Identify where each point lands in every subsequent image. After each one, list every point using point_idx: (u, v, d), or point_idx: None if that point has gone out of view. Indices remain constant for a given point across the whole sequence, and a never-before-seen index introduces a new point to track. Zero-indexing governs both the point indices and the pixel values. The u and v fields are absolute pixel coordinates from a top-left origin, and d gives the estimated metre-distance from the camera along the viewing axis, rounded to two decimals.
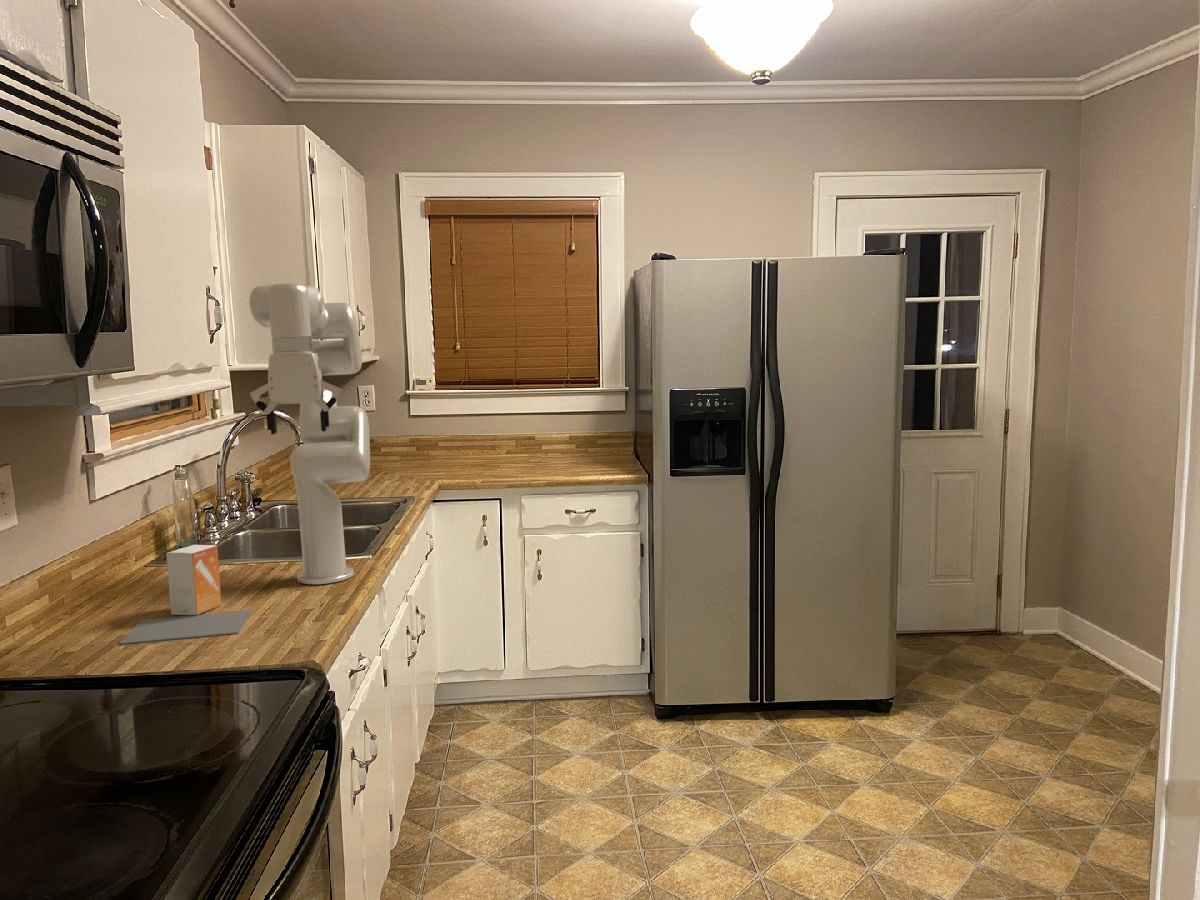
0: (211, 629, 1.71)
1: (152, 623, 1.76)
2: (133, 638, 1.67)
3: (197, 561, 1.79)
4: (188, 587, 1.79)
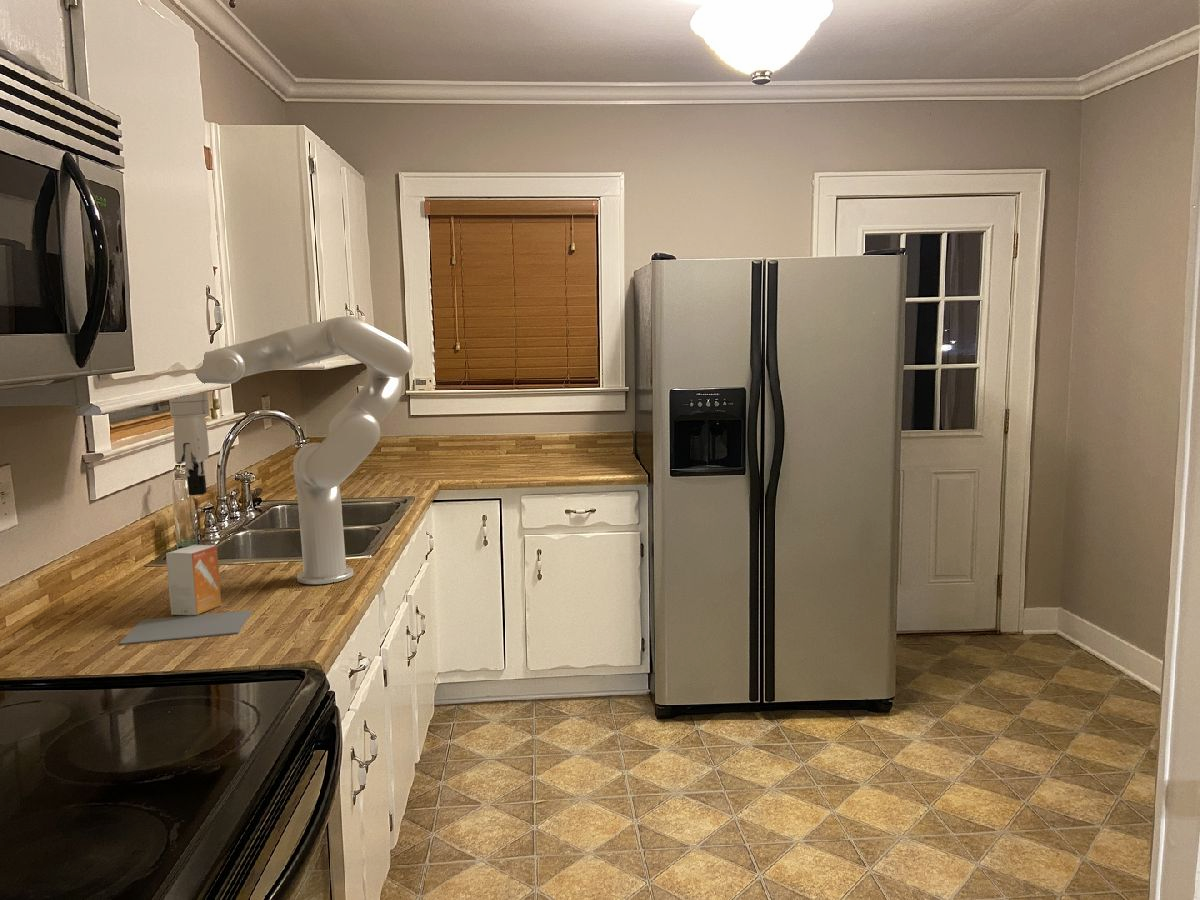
0: (211, 629, 1.71)
1: (152, 623, 1.76)
2: (133, 638, 1.67)
3: (196, 562, 1.79)
4: (188, 587, 1.79)
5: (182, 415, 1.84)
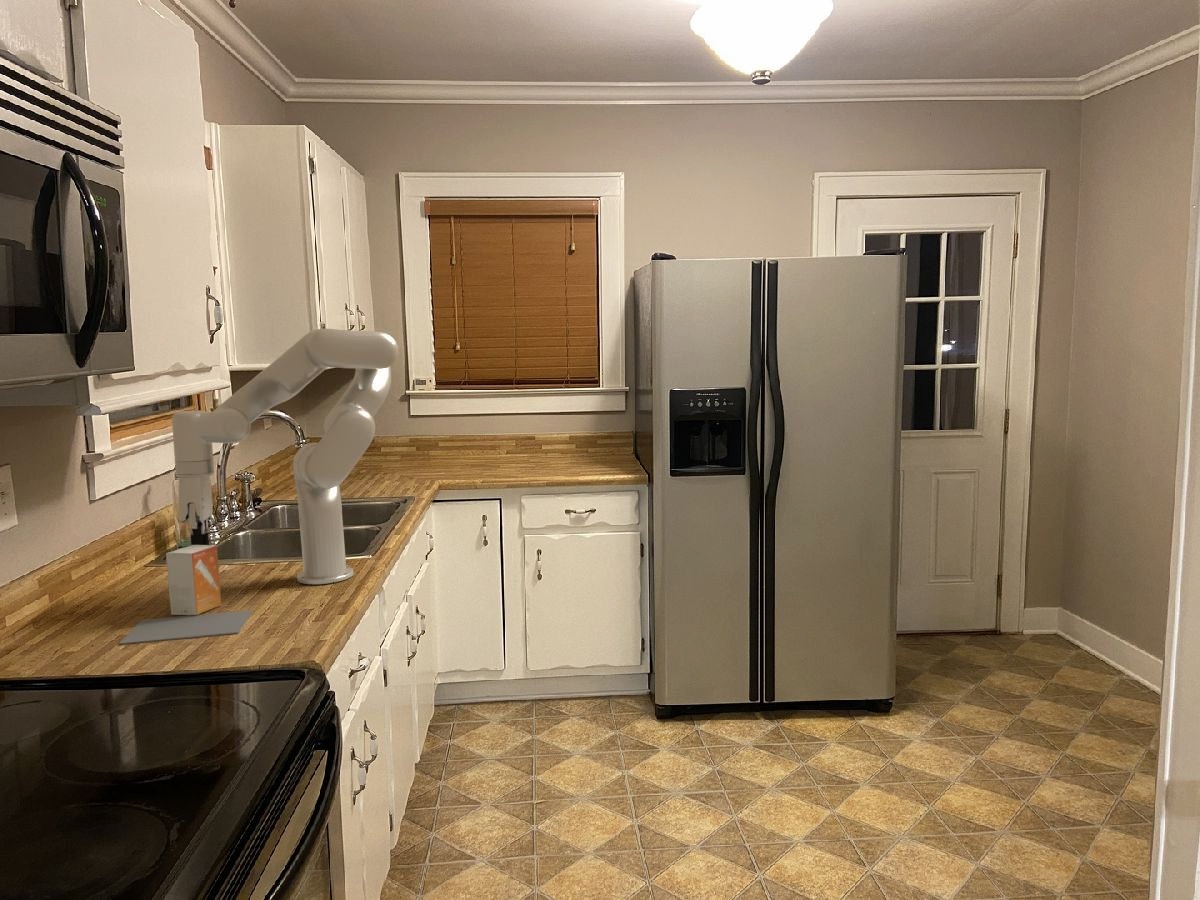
0: (211, 629, 1.71)
1: (152, 623, 1.76)
2: (133, 638, 1.67)
3: (196, 562, 1.79)
4: (188, 587, 1.79)
5: (187, 475, 1.86)
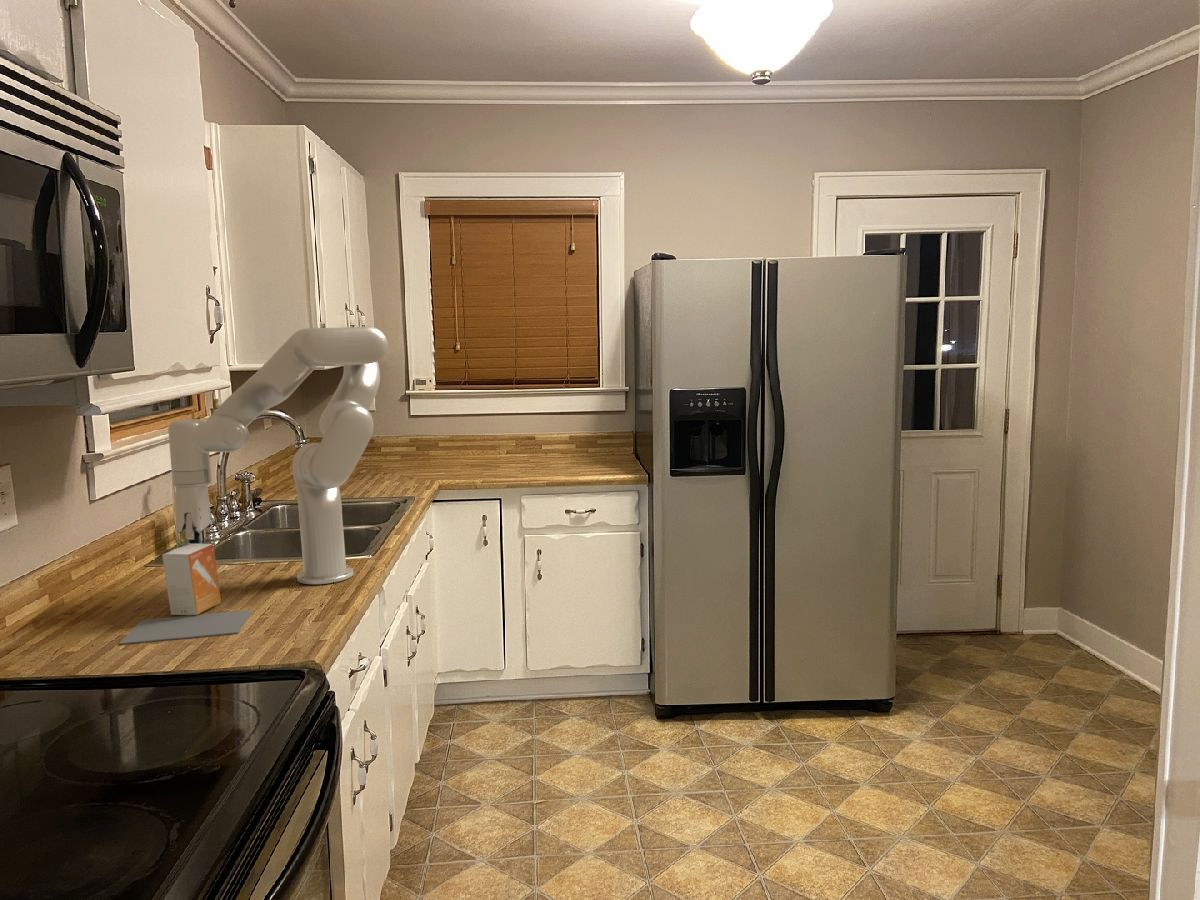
0: (211, 629, 1.71)
1: (152, 623, 1.76)
2: (133, 638, 1.67)
3: (193, 562, 1.79)
4: (186, 588, 1.79)
5: (184, 485, 1.84)
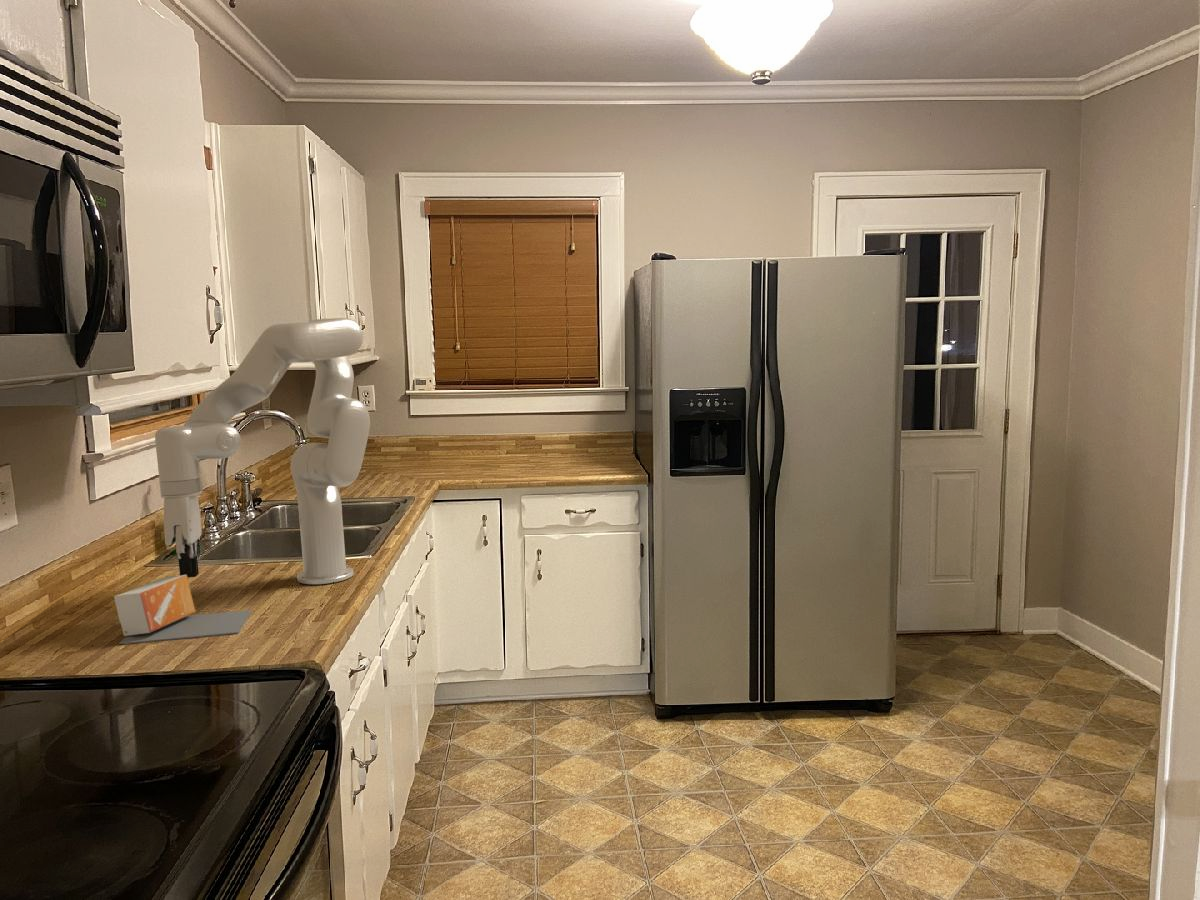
0: (211, 629, 1.71)
1: None
2: (133, 638, 1.67)
3: (156, 623, 1.68)
4: None
5: (172, 495, 1.74)
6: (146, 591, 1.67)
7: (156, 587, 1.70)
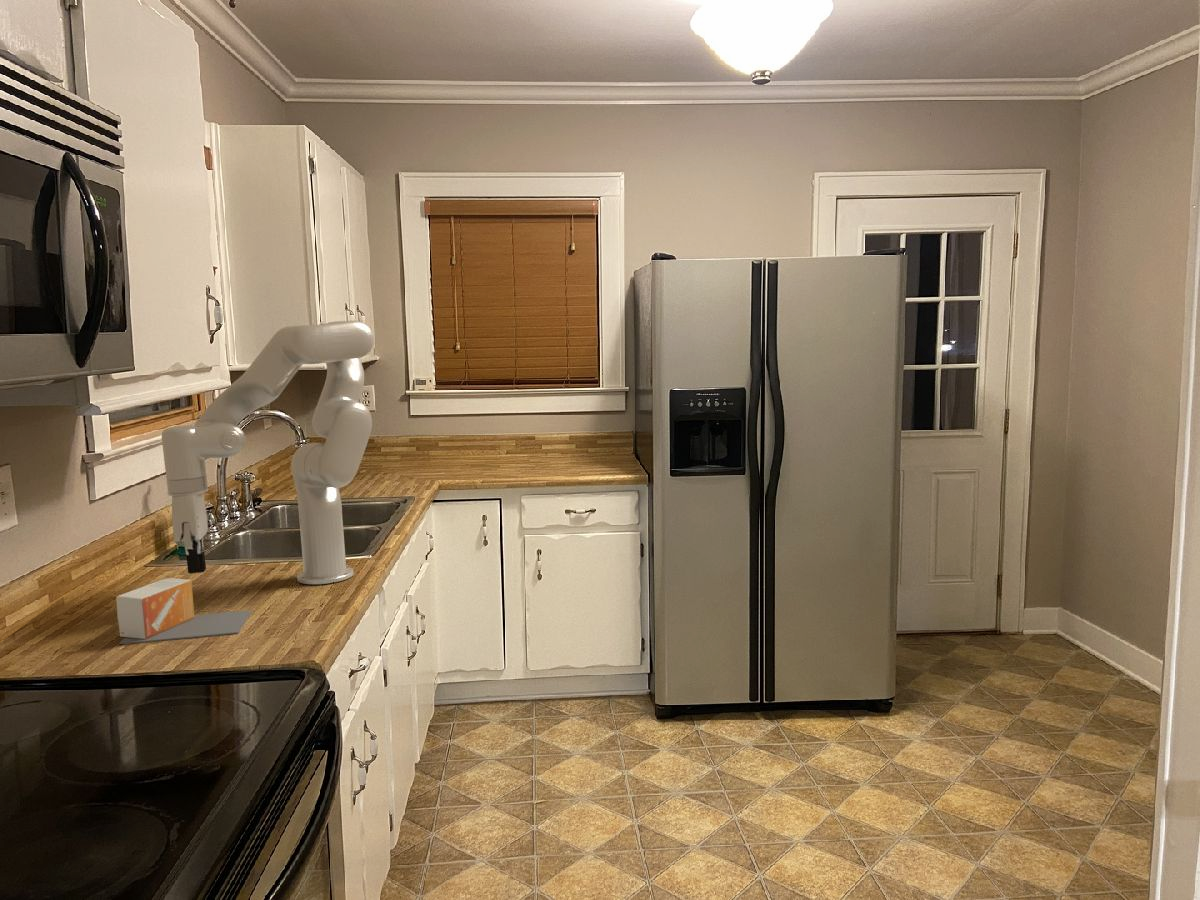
0: (211, 629, 1.71)
1: None
2: (133, 638, 1.67)
3: (153, 629, 1.68)
4: None
5: (180, 493, 1.79)
6: (148, 597, 1.66)
7: (159, 593, 1.69)
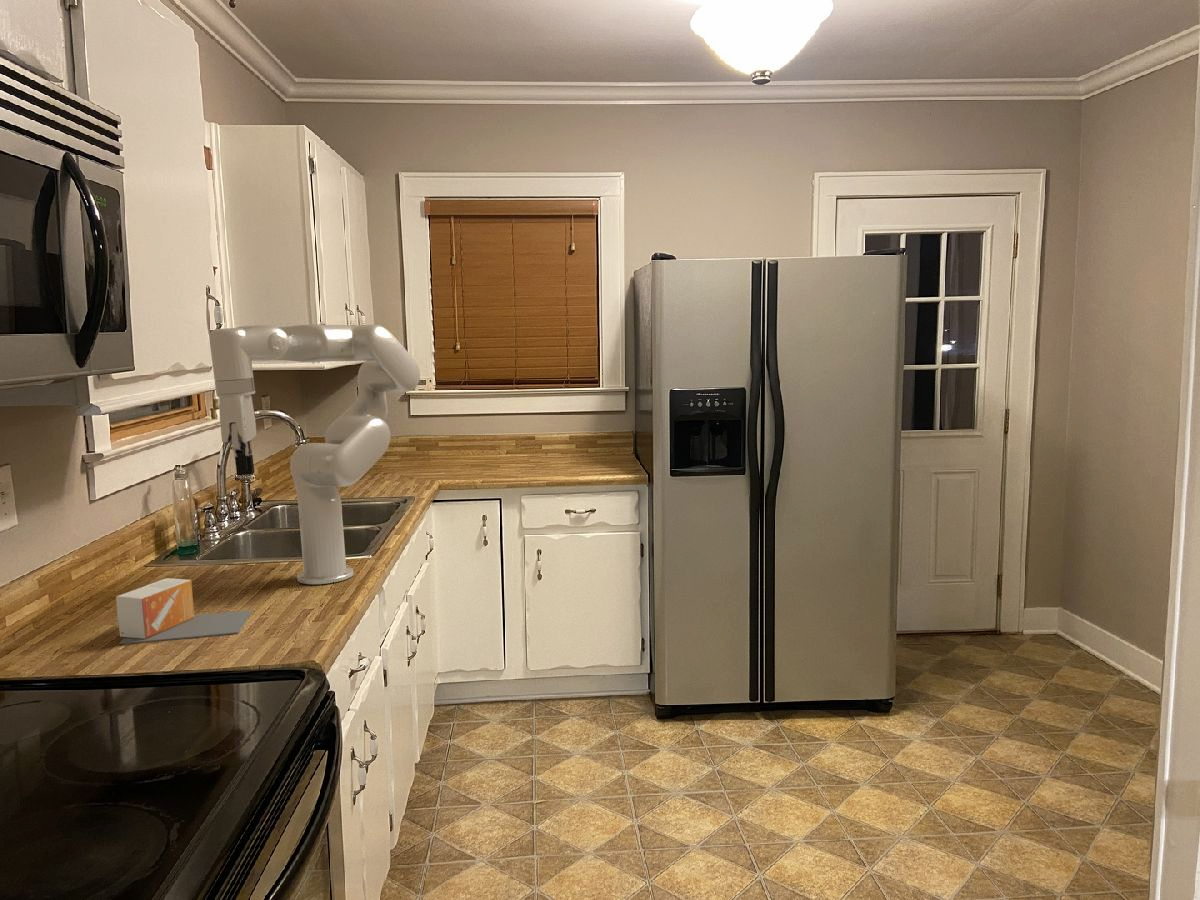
0: (211, 629, 1.71)
1: None
2: (133, 638, 1.67)
3: (153, 629, 1.68)
4: None
5: (227, 394, 1.80)
6: (148, 597, 1.67)
7: (159, 593, 1.69)
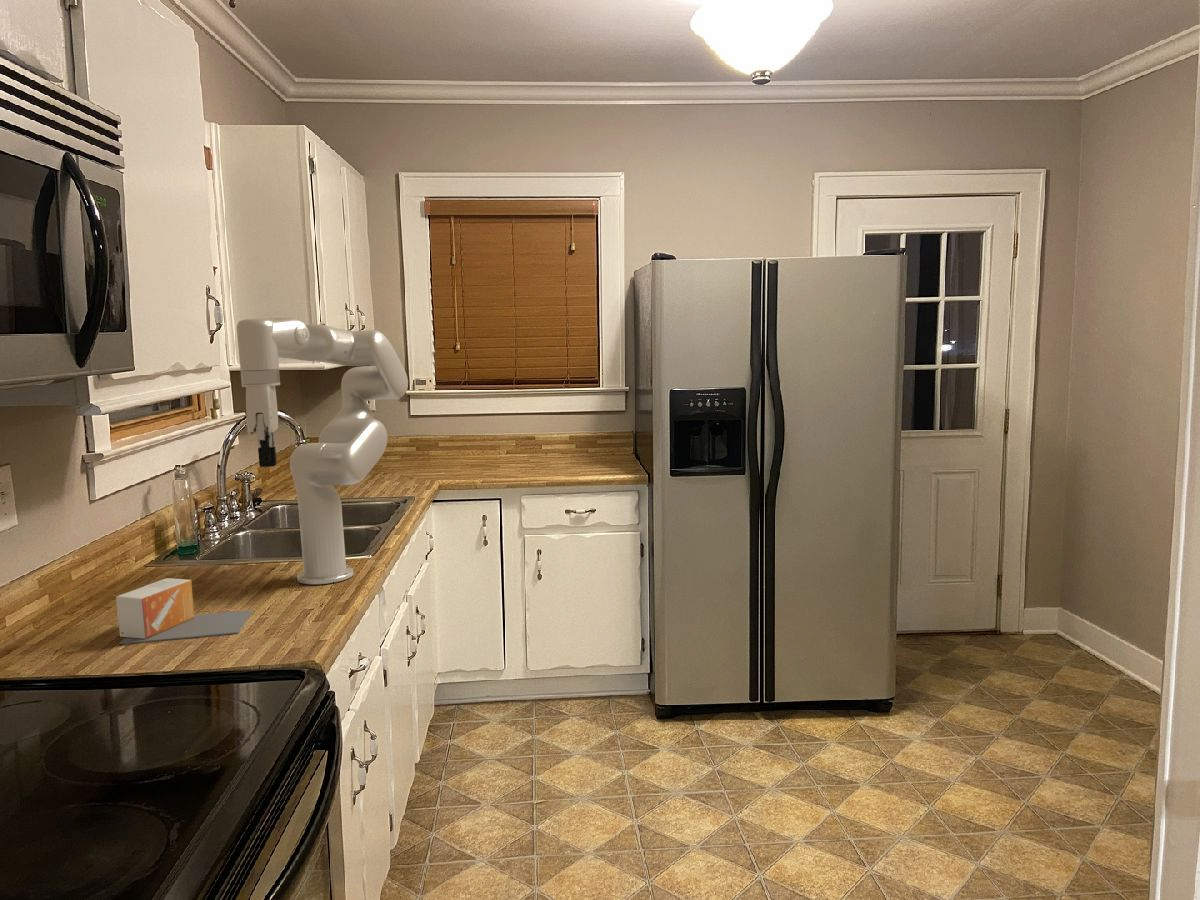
0: (211, 629, 1.71)
1: None
2: (133, 638, 1.67)
3: (153, 629, 1.68)
4: None
5: (254, 384, 1.80)
6: (148, 597, 1.67)
7: (159, 593, 1.69)
